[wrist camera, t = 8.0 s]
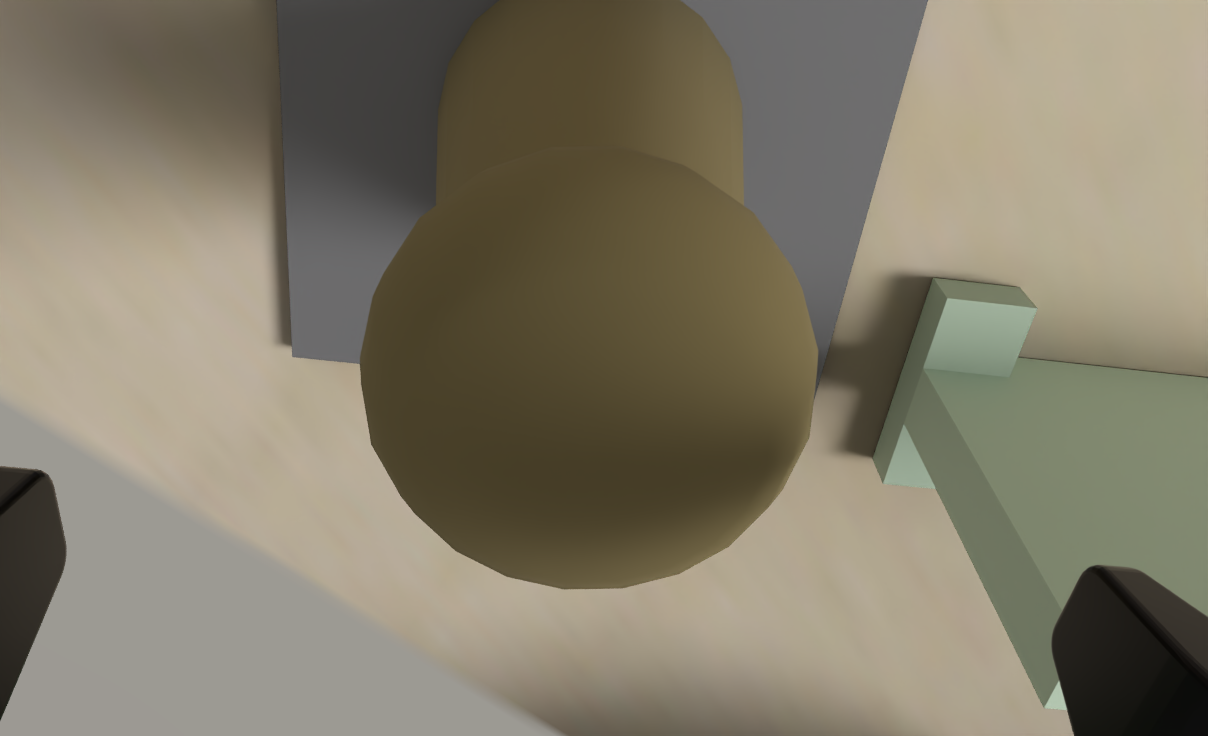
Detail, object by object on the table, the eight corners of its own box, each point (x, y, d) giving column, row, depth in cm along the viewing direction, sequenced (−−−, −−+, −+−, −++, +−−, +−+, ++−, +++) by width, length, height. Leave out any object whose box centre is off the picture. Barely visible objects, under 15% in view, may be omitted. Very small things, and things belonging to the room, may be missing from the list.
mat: (808, 400, 23) (811, 409, 23) (296, 347, 22) (292, 356, 22) (968, -171, 17) (976, -171, 17) (270, -276, 16) (264, -278, 16)
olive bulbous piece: (375, 134, 19) (164, 471, 10) (585, -108, 17) (578, 22, 8) (594, 320, 21) (596, 741, 12) (805, 127, 19) (1012, 457, 10)
